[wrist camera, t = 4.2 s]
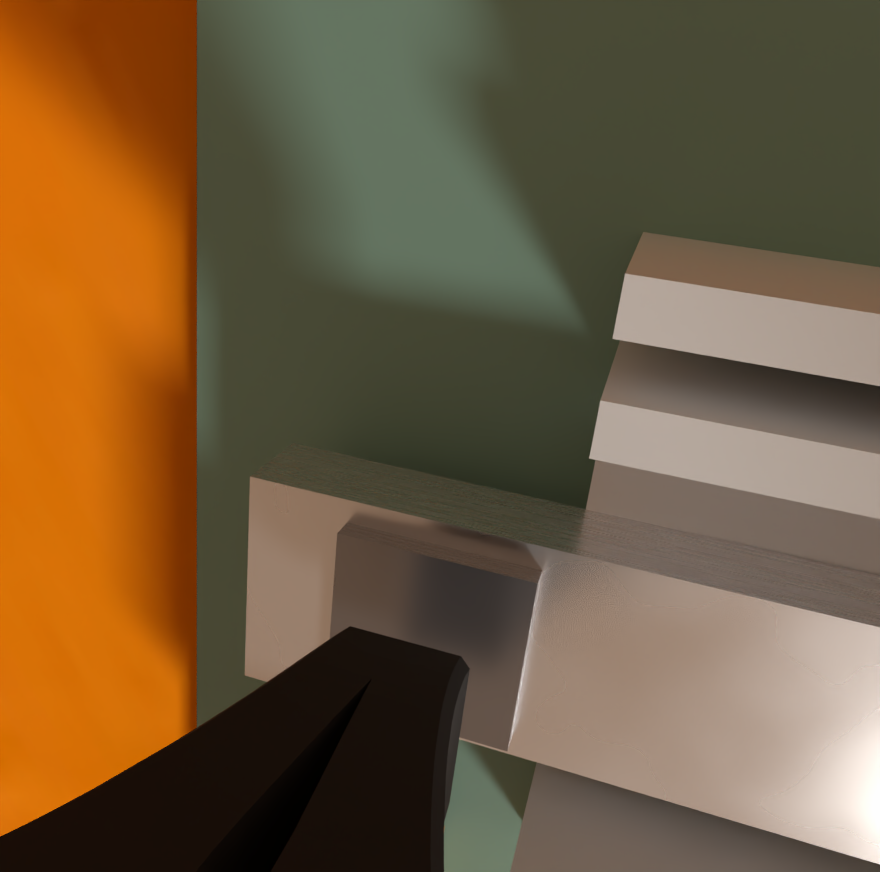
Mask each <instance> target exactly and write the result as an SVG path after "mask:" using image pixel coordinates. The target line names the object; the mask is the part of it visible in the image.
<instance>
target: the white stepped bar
mask: <svg viewBox="0 0 880 872" xmlns="http://www.w3.org/2000/svg"><path fill="white" fill-rule="evenodd" d="M350 626H351V627H355V628H359V629H363V630H366V631H370V632H374V633H377V634H381V635H385V636H388V637H392V638H396V639H400V640H403V641H407V642H411V643H414V644H418V645H422V646H426V647H429V648H433V649H437V650H440V651H444V652H448V653H451V654H455V655H459V656H461V657H462V658H463V660H464V661H465V662H466V664H467V665H468V667H469V668H470V671H469V677H468V684H467V691H466V697H465V704H464V710H463V717H462V724H461V730H460V737H459V739H460V740H463V741H467V742H470V743H474V744H477V745H480V746H484V747H487V748H490V749H494V750H497V751H500V752H504V753H507V754H510V755H514V756H517V757H521V758H524V759H527V760H531V761H534V762H537V763H541V764H544V765H547V766H551V767H554V768H557V769H561V770H564V771H568V772H571V773H574V774H578V775H581V776H584V777H588V778H591V779H594V780H598V781H601V782H605V783H608V784H611V785H615V786H618V787H621V788H625V789H628V790H631V791H635V792H638V793H641V794H645V795H648V796H652V797H655V798H658V799H662V800H665V801H668V802H672V803H675V804H678V805H682V806H685V807H688V808H692V809H695V810H699V811H702V812H705V813H709V814H712V815H715V816H719V817H722V818H725V819H729V820H732V821H735V822H739V823H742V824H746V825H749V826H752V827H756V828H759V829H762V830H766V831H769V832H772V833H776V834H779V835H782V836H786V837H789V838H793V839H796V840H799V841H803V842H806V843H809V844H813V845H816V846H819V847H823V848H826V849H830V850H833V851H836V852H840V853H843V854H846V855H850V856H853V857H856V858H860V859H863V860H866V861H870V862H873V863H877V864H880V576H878V575H874V574H870V573H865V572H861V571H856V570H852V569H848V568H843V567H839V566H834V565H830V564H825V563H821V562H817V561H812V560H808V559H803V558H799V557H795V556H790V555H786V554H781V553H777V552H773V551H768V550H764V549H759V548H755V547H750V546H746V545H742V544H737V543H733V542H728V541H724V540H720V539H715V538H711V537H706V536H702V535H698V534H693V533H689V532H684V531H680V530H675V529H671V528H667V527H662V526H658V525H653V524H649V523H645V522H640V521H636V520H631V519H627V518H622V517H617V516H613V515H608V514H604V513H599V512H595V511H590V510H586V509H583V508H578V507H574V506H570V505H565V504H561V503H556V502H552V501H548V500H543V499H539V498H534V497H530V496H525V495H521V494H517V493H512V492H508V491H503V490H499V489H495V488H490V487H486V486H481V485H477V484H473V483H468V482H464V481H459V480H455V479H450V478H446V477H442V476H437V475H433V474H428V473H424V472H420V471H415V470H411V469H406V468H402V467H398V466H393V465H389V464H384V463H380V462H375V461H371V460H367V459H362V458H358V457H353V456H349V455H345V454H340V453H336V452H331V451H327V450H323V449H318V448H314V447H309V446H305V445H300V444H296V443H292V444H291V445H290V446H288V447H287V448H286V449H284V450H283V451H282V452H281V453H279V454H278V455H277V456H276V457H274V458H273V459H272V460H270V461H269V462H268V463H267V464H265V465H264V466H263V467H262V468H260V469H259V470H258V471H256V472H255V473H254V474H253V475H251V476H250V495H249V532H248V569H247V607H246V644H245V676H249V677H252V678H255V679H259V680H262V681H265V682H268V681H269V680H271V679H272V678H274V677H275V676H276V675H278V674H279V673H281V672H282V671H284V670H285V669H287V668H288V667H290V666H291V665H293V664H294V663H295V662H297V661H298V660H300V659H301V658H303V657H304V656H306V655H307V654H308V653H310V652H311V651H313V650H314V649H316V648H317V647H319V646H320V645H321V644H323V643H324V642H326V641H327V640H329V639H330V638H332V637H333V636H335V635H336V634H338V633H339V632H341V631H343V630H344V629H346V628H348V627H350Z"/></svg>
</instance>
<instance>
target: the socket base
mask: <svg viewBox="0 0 880 872" xmlns="http://www.w3.org/2000/svg"><path fill="white" fill-rule="evenodd" d="M292 443H296V444H300V445H305V446H309V447H314V448H318V449H323V450H327V451H331V452H336V453H340V454H345V455H349V456H353V457H358V458H362V459H367V460H371V461H375V462H380V463H384V464H389V465H393V466H398V467H402V468H406V469H411V470H415V471H420V472H424V473H428V474H433V475H437V476H442V477H446V478H450V479H455V480H459V481H464V482H468V483H473V484H477V485H481V486H486V487H490V488H495V489H499V490H503V491H508V492H512V493H517V494H521V495H525V496H530V497H534V498H539V499H543V500H548V501H552V502H556V503H561V504H565V505H570V506H574V507H578V508H583V509H586V510H590V511H595V512H599V513H604V514H608V515H613V516H617V517H622V518H627V519H631V520H636V521H640V522H645V523H649V524H653V525H658V526H662V527H667V528H671V529H675V530H680V531H684V532H689V533H693V534H698V535H702V536H706V537H711V538H715V539H720V540H724V541H728V542H733V543H737V544H742V545H746V546H750V547H755V548H759V549H764V550H768V551H773V552H777V553H781V554H786V555H790V556H795V557H799V558H803V559H808V560H812V561H817V562H821V563H825V564H830V565H834V566H839V567H843V568H848V569H852V570H856V571H861V572H865V573H870V574H874V575H878V576H880V0H197V727H199V726H200V725H202V724H203V723H205V722H206V721H208V720H210V719H211V718H213V717H214V716H216V715H217V714H219V713H220V712H222V711H224V710H225V709H227V708H228V707H230V706H231V705H233V704H234V703H236V702H237V701H239V700H241V699H242V698H244V697H245V696H247V695H248V694H250V693H251V692H253V691H254V690H256V689H257V688H259V687H260V686H262V685H263V684H265V683H266V682H265V681H262V680H259V679H255V678H252V677H249V676H245V644H246V607H247V569H248V532H249V495H250V476H251V475H253V474H254V473H255V472H256V471H258V470H259V469H260V468H262V467H263V466H264V465H265V464H267V463H268V462H269V461H270V460H272V459H273V458H274V457H276V456H277V455H278V454H279V453H281V452H282V451H283V450H284V449H286V448H287V447H288V446H290V445H291V444H292ZM444 826H445V829H444V872H880V864H877V863H873V862H870V861H866V860H863V859H860V858H856V857H853V856H850V855H846V854H843V853H840V852H836V851H833V850H830V849H826V848H823V847H819V846H816V845H813V844H809V843H806V842H803V841H799V840H796V839H793V838H789V837H786V836H782V835H779V834H776V833H772V832H769V831H766V830H762V829H759V828H756V827H752V826H749V825H746V824H742V823H739V822H735V821H732V820H729V819H725V818H722V817H719V816H715V815H712V814H709V813H705V812H702V811H699V810H695V809H692V808H688V807H685V806H682V805H678V804H675V803H672V802H668V801H665V800H662V799H658V798H655V797H652V796H648V795H645V794H641V793H638V792H635V791H631V790H628V789H625V788H621V787H618V786H615V785H611V784H608V783H605V782H601V781H598V780H594V779H591V778H588V777H584V776H581V775H578V774H574V773H571V772H568V771H564V770H561V769H557V768H554V767H551V766H547V765H544V764H541V763H537V762H534V761H531V760H527V759H524V758H521V757H517V756H514V755H510V754H507V753H504V752H500V751H497V750H494V749H490V748H487V747H484V746H480V745H477V744H474V743H470V742H467V741H463V740H460V739H459V743H458V750H457V757H456V763H455V770H454V776H453V783H452V790H451V796H450V803H449V806H448V810H447V814H446V817H445V821H444Z"/></svg>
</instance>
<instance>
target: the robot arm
mask: <svg viewBox="0 0 880 872" xmlns="http://www.w3.org/2000/svg"><path fill="white" fill-rule="evenodd" d="M469 671H470V668H469V667H468V665H467V664H466V662H465V661H464V660H463V658H462V657H461V656H459V655H455V654H451V653H448V652H444V651H440V650H437V649H433V648H429V647H426V646H422V645H418V644H414V643H411V642H407V641H403V640H400V639H396V638H392V637H388V636H385V635H381V634H377V633H374V632H370V631H366V630H363V629H359V628H355V627H351V626H350V627H348V628H346V629H344V630H343V631H341V632H339V633H338V634H336V635H335V636H333V637H332V638H330V639H329V640H327V641H326V642H324V643H323V644H321V645H320V646H319V647H317V648H316V649H314V650H313V651H311V652H310V653H308V654H307V655H306V656H304V657H303V658H301V659H300V660H298V661H297V662H295V663H294V664H293V665H291V666H290V667H288V668H287V669H285V670H284V671H282V672H281V673H279V674H278V675H276V676H275V677H274V678H272V679H271V680H269V681H268V682H266V683H265V684H263V685H262V686H260V687H259V688H257V689H256V690H254V691H253V692H251V693H250V694H248V695H247V696H245V697H244V698H242V699H241V700H239V701H237V702H236V703H234V704H233V705H231V706H230V707H228V708H227V709H225V710H224V711H222V712H220V713H219V714H217V715H216V716H214V717H213V718H211V719H210V720H208V721H206V722H205V723H203V724H202V725H200V726H199V727H197V728H196V729H194V730H192V731H191V732H189V733H188V734H186V735H184V736H183V737H181V738H180V739H178V740H176V741H175V742H173V743H171V744H170V745H168V746H166V747H165V748H163V749H161V750H159V751H158V752H156V753H154V754H153V755H151V756H149V757H147V758H146V759H144V760H142V761H140V762H139V763H137V764H135V765H134V766H132V767H130V768H128V769H127V770H125V771H123V772H122V773H120V774H118V775H116V776H115V777H113V778H111V779H109V780H108V781H106V782H104V783H103V784H101V785H99V786H97V787H96V788H94V789H92V790H90V791H88V792H87V793H85V794H83V795H81V796H79V797H77V798H75V799H73V800H72V801H70V802H68V803H66V804H64V805H62V806H60V807H58V808H57V809H55V810H53V811H51V812H49V813H47V814H45V815H43V816H41V817H39V818H37V819H35V820H33V821H31V822H29V823H27V824H26V825H24V826H21V827H19V828H17V829H15V830H13V831H11V832H9V833H7V834H5V835H3V836H1V837H0V872H444V821H445V817H446V814H447V810H448V806H449V803H450V796H451V790H452V783H453V776H454V770H455V763H456V757H457V750H458V743H459V737H460V730H461V724H462V717H463V710H464V704H465V697H466V691H467V684H468V677H469Z"/></svg>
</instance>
